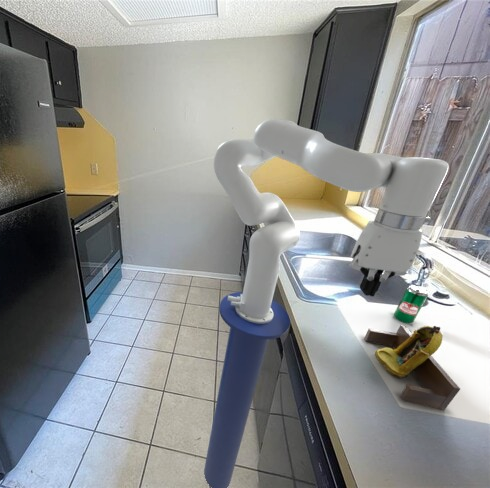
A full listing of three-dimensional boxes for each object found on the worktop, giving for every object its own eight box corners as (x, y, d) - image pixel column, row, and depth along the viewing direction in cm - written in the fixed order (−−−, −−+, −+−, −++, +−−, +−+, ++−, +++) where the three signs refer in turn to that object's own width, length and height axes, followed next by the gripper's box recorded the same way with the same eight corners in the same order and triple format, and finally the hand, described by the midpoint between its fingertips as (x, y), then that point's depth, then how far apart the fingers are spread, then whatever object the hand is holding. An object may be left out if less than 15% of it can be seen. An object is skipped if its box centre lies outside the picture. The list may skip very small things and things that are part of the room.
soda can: (391, 318, 86) (406, 288, 81) (394, 312, 89) (409, 282, 84) (411, 326, 82) (428, 295, 77) (413, 319, 86) (430, 289, 81)
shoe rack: (402, 400, 59) (416, 379, 56) (363, 338, 77) (372, 320, 74) (444, 410, 57) (460, 389, 54) (395, 344, 75) (405, 325, 72)
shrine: (437, 377, 64) (447, 321, 61) (430, 393, 59) (441, 334, 56) (378, 355, 73) (385, 306, 70) (369, 367, 68) (375, 315, 65)
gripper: (428, 218, 56) (394, 289, 63) (351, 211, 59) (327, 279, 66) (454, 230, 49) (412, 308, 56) (365, 221, 52) (337, 296, 60)
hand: (366, 292), depth 61 cm, fingers closed
